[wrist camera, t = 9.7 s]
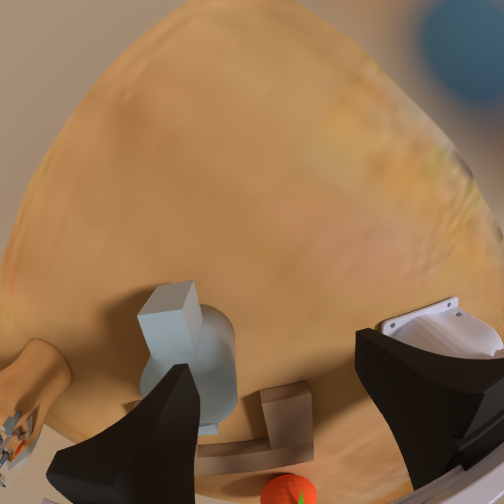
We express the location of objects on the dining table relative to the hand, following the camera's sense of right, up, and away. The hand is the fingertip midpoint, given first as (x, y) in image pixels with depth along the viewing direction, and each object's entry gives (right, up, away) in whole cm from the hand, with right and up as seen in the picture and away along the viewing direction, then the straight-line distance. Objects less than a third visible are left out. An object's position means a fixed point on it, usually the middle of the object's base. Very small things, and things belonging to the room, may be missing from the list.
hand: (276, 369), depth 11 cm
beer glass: (-22, -6, +10) cm, 25 cm away
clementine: (+3, -24, +15) cm, 28 cm away
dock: (-3, -13, +12) cm, 18 cm away
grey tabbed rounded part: (-5, -2, +10) cm, 11 cm away
